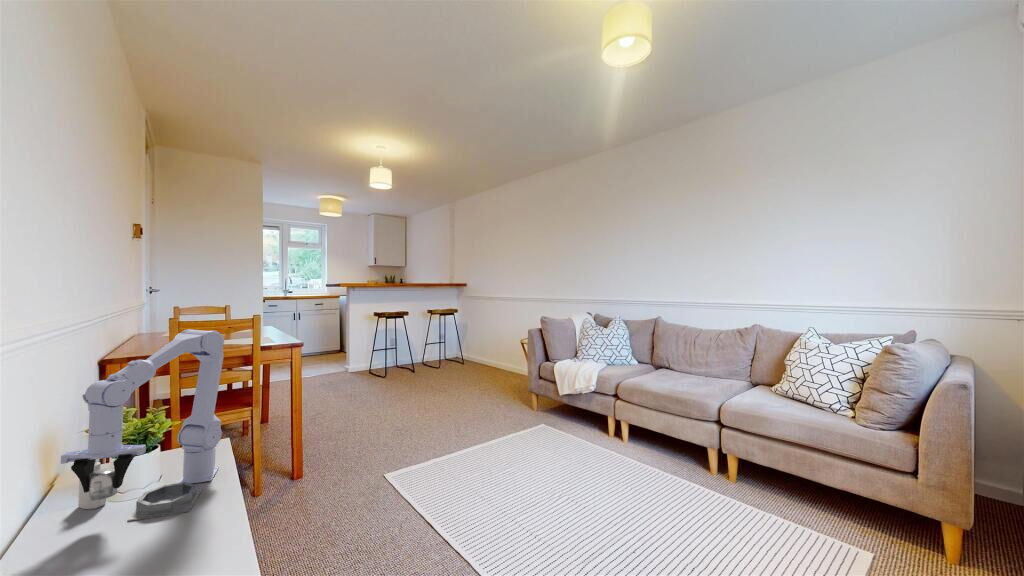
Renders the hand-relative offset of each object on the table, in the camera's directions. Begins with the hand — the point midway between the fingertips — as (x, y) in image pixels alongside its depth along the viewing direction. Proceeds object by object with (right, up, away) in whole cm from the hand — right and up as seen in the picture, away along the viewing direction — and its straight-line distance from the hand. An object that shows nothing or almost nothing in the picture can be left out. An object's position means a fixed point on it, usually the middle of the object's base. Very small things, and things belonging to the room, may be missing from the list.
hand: (103, 488), depth 96 cm
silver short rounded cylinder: (0, -2, 0) cm, 2 cm away
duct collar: (+8, -9, +9) cm, 15 cm away
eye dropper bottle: (-10, -8, +7) cm, 15 cm away
